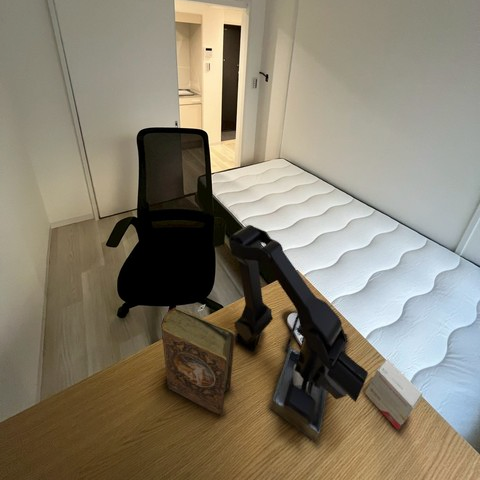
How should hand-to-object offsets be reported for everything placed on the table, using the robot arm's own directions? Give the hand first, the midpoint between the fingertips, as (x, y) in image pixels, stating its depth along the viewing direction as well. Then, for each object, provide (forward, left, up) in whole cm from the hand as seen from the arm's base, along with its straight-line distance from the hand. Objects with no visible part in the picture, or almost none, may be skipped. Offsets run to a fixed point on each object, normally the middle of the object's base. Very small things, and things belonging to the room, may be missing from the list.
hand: (301, 386), depth 63 cm
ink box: (+20, +9, -3) cm, 22 cm away
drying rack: (+1, +14, -3) cm, 15 cm away
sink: (0, 0, -3) cm, 3 cm away
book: (-24, -13, -3) cm, 27 cm away
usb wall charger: (0, 0, -1) cm, 1 cm away
